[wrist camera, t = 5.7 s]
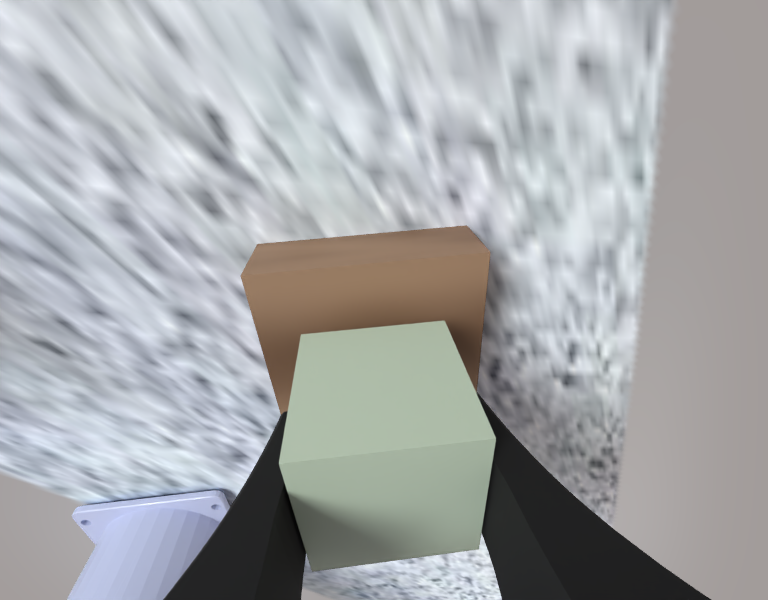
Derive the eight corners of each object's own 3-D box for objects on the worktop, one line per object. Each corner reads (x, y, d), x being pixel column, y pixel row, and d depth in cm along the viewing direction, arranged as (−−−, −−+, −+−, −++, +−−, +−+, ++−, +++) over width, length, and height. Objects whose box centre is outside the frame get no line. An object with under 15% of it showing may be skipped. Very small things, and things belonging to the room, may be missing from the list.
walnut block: (455, 374, 19) (473, 421, 16) (297, 392, 18) (289, 443, 16) (464, 222, 14) (490, 252, 12) (259, 240, 14) (240, 275, 11)
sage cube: (440, 419, 14) (478, 549, 10) (321, 432, 14) (312, 571, 10) (444, 320, 12) (496, 438, 8) (300, 334, 11) (278, 463, 7)
